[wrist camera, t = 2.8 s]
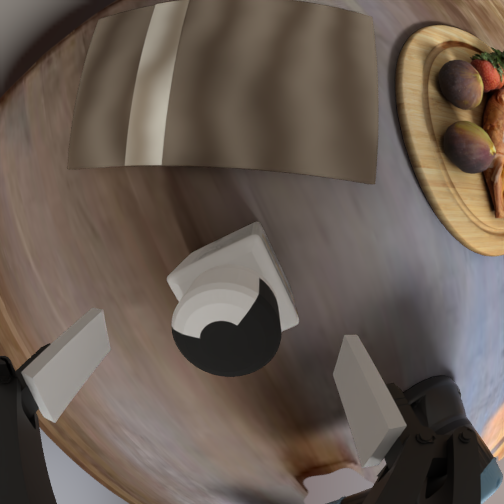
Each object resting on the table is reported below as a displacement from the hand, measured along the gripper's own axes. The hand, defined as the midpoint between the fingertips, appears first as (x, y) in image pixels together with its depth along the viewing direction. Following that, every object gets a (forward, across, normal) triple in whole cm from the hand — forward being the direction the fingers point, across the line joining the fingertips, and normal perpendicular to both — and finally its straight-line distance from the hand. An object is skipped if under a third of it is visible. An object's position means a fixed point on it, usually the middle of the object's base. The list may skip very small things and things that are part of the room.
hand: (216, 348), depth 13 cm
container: (+14, 0, 0) cm, 14 cm away
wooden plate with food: (+15, -31, -20) cm, 40 cm away
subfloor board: (+14, +4, -20) cm, 25 cm away
